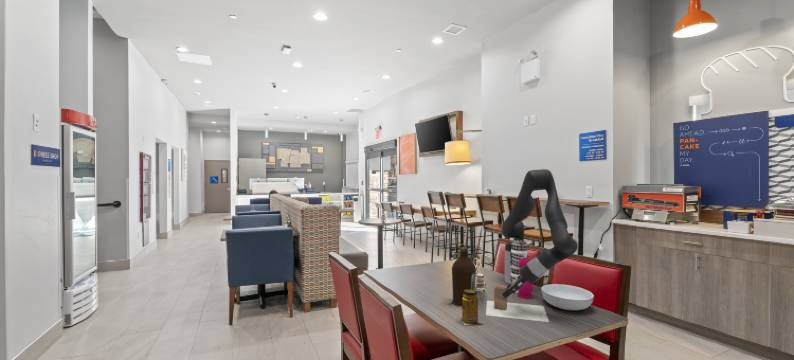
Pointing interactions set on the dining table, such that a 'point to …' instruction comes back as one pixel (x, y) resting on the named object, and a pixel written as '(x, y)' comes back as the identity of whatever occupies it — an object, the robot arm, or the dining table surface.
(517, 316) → the rubber mat
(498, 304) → the walnut block
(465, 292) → the condiment
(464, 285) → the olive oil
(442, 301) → the dining table surface
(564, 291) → the serving bowl
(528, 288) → the pepper mill
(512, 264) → the decorative candle
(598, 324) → the dining table surface
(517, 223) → the robot arm
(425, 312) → the dining table surface
